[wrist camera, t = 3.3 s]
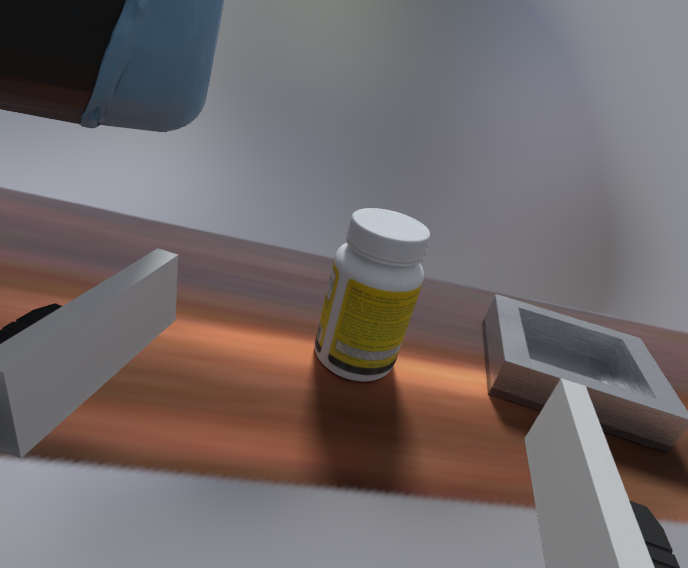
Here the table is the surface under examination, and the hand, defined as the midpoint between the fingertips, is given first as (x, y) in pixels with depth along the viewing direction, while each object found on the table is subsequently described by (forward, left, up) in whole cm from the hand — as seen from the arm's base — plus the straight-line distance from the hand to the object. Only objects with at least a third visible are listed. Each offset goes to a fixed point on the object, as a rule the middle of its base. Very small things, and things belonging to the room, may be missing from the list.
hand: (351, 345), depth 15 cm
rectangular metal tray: (+13, +13, -7) cm, 20 cm away
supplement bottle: (0, +9, -7) cm, 11 cm away
